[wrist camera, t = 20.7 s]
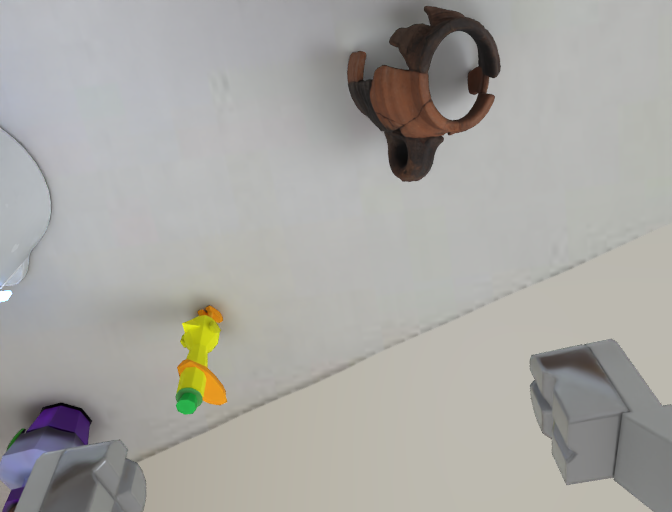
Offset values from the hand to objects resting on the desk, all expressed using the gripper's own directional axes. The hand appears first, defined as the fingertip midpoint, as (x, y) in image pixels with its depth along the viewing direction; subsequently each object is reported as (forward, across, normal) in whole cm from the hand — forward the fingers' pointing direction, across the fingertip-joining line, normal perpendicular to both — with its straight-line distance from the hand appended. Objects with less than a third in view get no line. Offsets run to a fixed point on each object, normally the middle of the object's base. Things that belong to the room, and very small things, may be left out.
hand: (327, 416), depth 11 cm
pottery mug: (+35, -7, +6) cm, 36 cm away
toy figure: (+35, +15, +24) cm, 45 cm away
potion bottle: (+35, +35, +34) cm, 60 cm away
